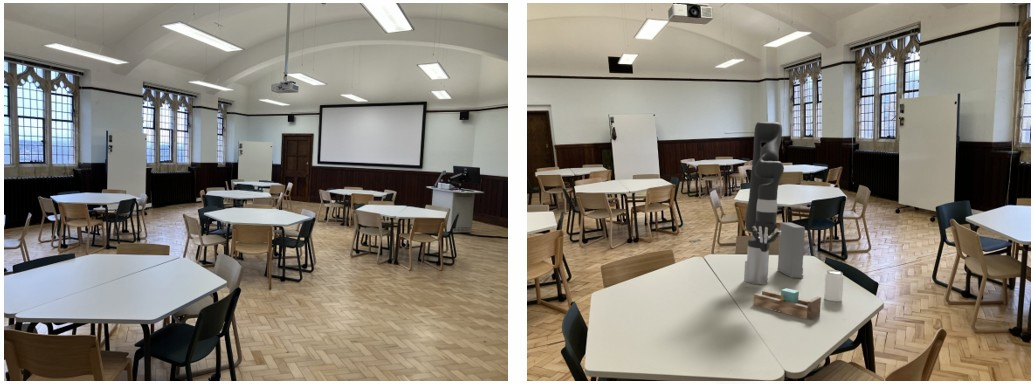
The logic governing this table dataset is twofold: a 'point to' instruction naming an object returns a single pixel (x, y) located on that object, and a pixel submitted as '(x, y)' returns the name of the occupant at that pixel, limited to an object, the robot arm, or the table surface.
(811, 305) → the wooden tray
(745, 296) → the table surface
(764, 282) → the robot arm
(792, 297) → the rider
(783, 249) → the tall upright block
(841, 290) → the can
